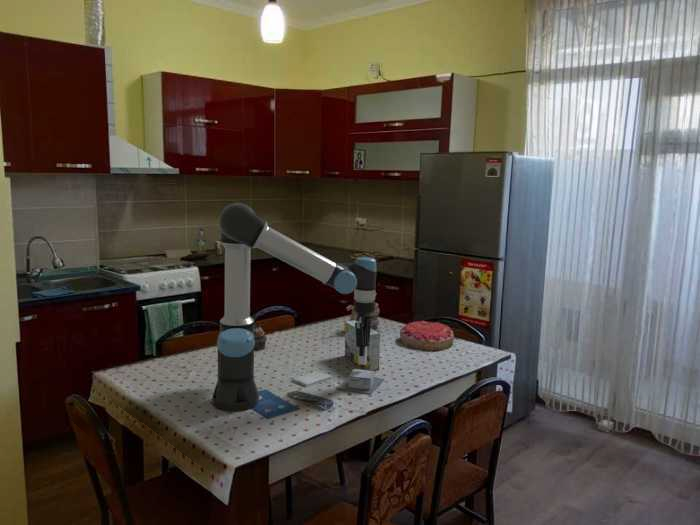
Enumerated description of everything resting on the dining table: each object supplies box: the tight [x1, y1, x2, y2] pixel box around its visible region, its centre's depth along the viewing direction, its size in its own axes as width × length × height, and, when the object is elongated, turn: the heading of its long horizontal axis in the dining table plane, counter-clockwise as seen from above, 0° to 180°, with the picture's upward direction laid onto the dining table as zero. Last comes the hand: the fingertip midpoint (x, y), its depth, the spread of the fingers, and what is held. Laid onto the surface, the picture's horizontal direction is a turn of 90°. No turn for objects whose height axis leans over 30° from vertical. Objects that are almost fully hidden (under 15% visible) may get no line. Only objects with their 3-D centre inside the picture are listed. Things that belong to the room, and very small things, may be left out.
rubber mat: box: [335, 376, 385, 395], centre depth 203 cm, size 16×13×1 cm
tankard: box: [345, 302, 381, 333], centre depth 270 cm, size 20×13×15 cm, turn 130°
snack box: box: [344, 320, 381, 371], centre depth 226 cm, size 21×6×15 cm, turn 27°
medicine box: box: [348, 368, 376, 390], centre depth 201 cm, size 8×4×9 cm
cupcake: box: [254, 325, 267, 352], centre depth 241 cm, size 10×10×10 cm
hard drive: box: [291, 370, 332, 388], centre depth 206 cm, size 2×8×12 cm
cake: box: [399, 320, 455, 351], centre depth 258 cm, size 25×25×8 cm
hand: (362, 363), depth 204 cm, fingers closed
